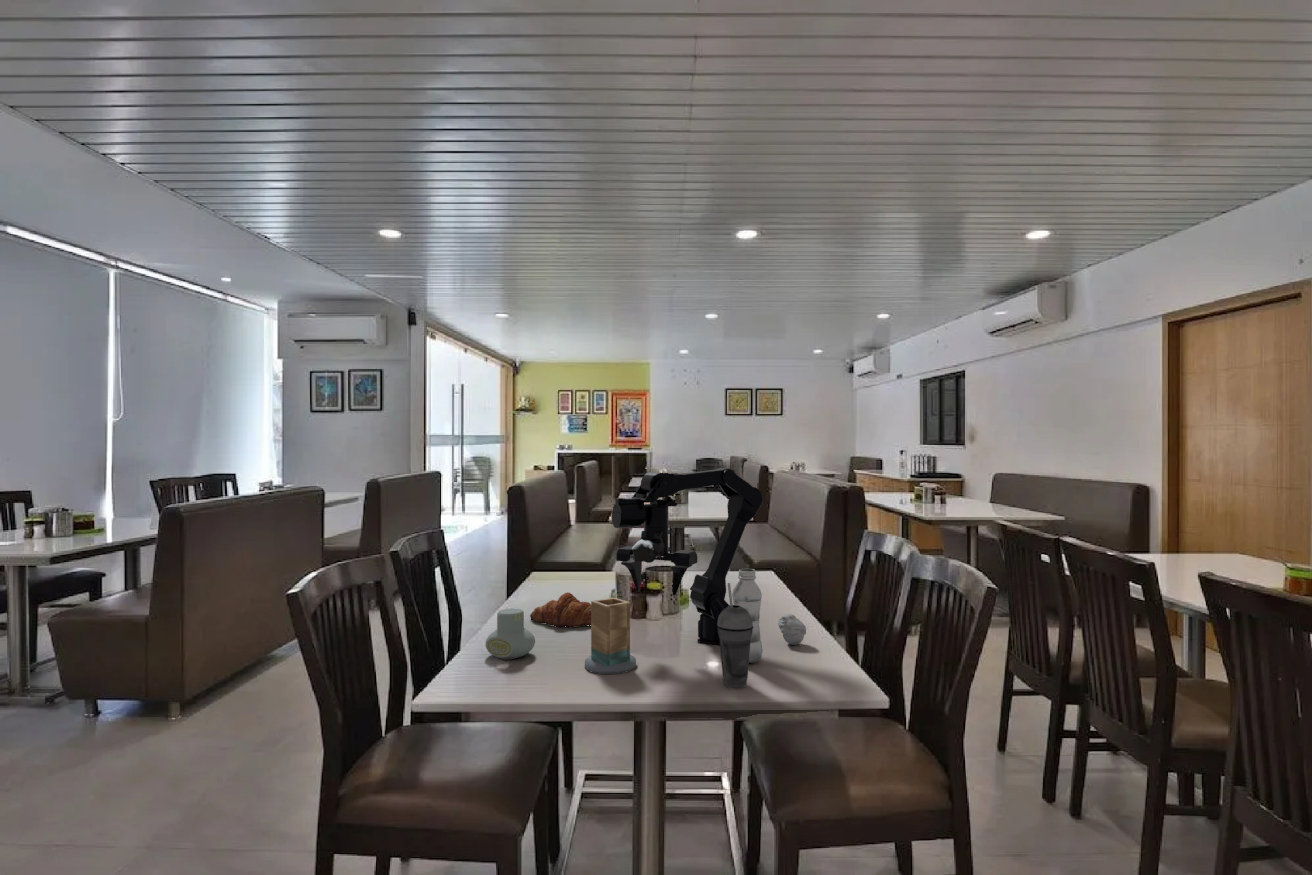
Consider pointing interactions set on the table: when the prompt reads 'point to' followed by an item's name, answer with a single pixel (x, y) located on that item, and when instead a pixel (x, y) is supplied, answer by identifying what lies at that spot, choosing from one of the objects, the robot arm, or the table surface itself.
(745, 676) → the beverage cup
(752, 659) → the plastic bottle
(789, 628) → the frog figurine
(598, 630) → the banded sleeve
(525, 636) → the air freshener
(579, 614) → the pastry
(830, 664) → the table surface
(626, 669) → the pin stand
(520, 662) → the table surface
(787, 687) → the table surface
